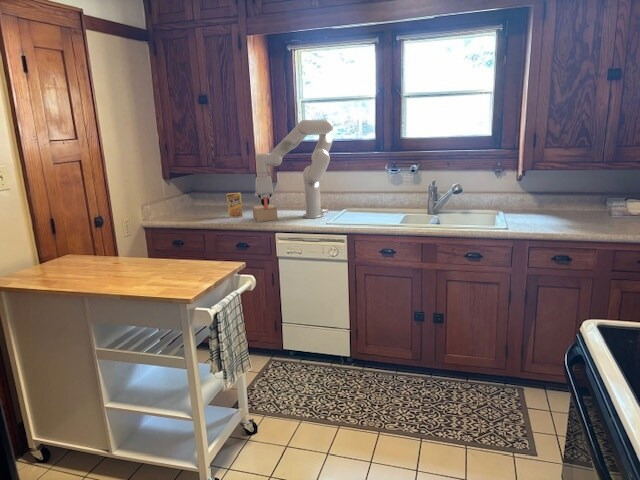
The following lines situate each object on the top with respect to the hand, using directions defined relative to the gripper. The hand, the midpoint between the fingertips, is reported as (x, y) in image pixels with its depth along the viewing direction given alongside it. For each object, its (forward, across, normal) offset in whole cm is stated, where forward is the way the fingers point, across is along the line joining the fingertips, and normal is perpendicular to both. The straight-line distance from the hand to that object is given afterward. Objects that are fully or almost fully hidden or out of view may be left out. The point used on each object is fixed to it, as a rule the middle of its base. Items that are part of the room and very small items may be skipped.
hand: (265, 205), depth 295 cm
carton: (+10, 0, -4) cm, 11 cm away
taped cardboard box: (+2, 0, -4) cm, 5 cm away
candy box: (+10, +16, -20) cm, 28 cm away
